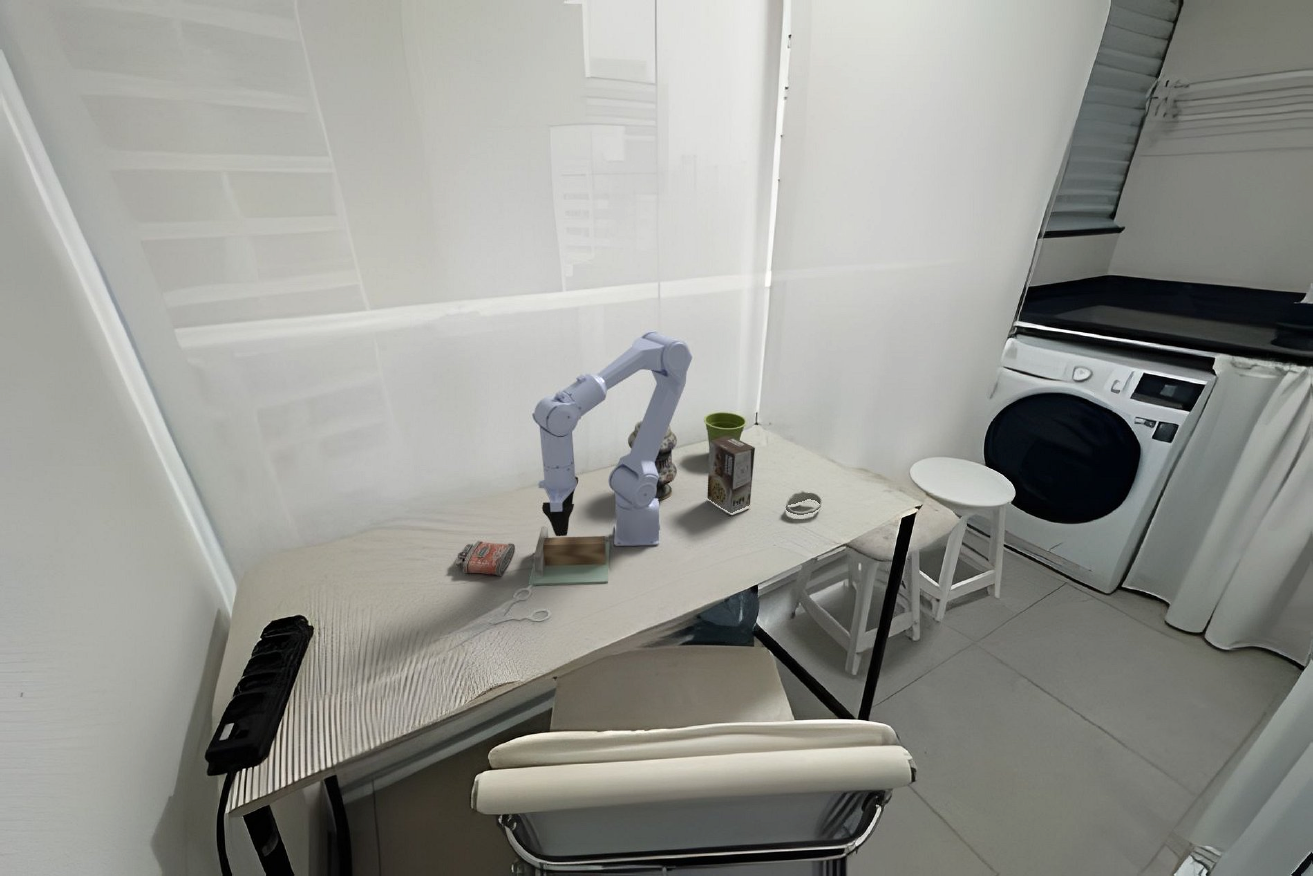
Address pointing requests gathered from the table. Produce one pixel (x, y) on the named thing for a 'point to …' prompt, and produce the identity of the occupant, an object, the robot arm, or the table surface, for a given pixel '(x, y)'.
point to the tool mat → (573, 573)
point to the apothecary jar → (661, 462)
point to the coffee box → (730, 473)
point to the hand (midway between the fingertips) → (563, 523)
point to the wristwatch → (802, 497)
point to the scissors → (500, 618)
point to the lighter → (486, 558)
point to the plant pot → (724, 425)
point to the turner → (568, 551)
